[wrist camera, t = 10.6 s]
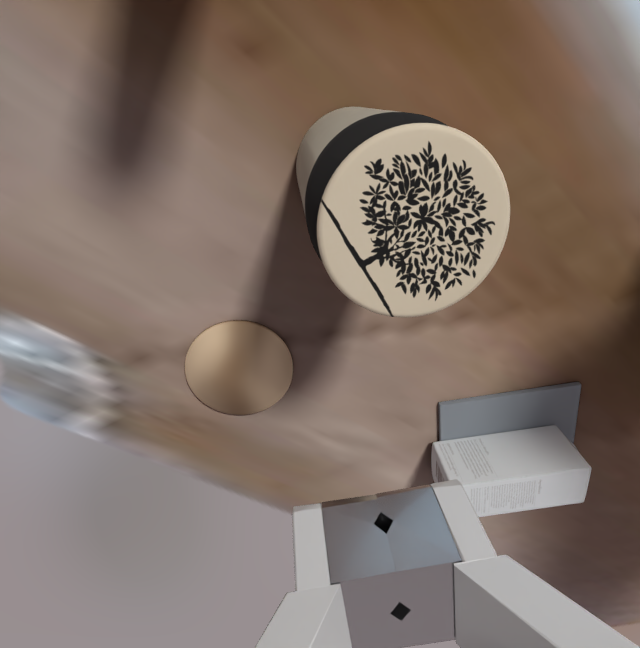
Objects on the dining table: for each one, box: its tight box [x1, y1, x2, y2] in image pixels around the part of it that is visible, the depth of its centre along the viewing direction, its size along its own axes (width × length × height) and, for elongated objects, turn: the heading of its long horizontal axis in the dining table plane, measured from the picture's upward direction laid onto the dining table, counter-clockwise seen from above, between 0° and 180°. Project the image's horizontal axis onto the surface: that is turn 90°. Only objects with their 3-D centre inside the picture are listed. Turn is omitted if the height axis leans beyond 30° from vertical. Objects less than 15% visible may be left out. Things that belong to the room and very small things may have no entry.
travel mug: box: [296, 107, 510, 317], centre depth 26 cm, size 8×8×18 cm
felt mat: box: [439, 382, 581, 443], centre depth 46 cm, size 13×11×1 cm
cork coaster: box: [185, 320, 293, 415], centre depth 41 cm, size 9×9×1 cm
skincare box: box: [431, 425, 592, 517], centre depth 43 cm, size 6×4×12 cm
